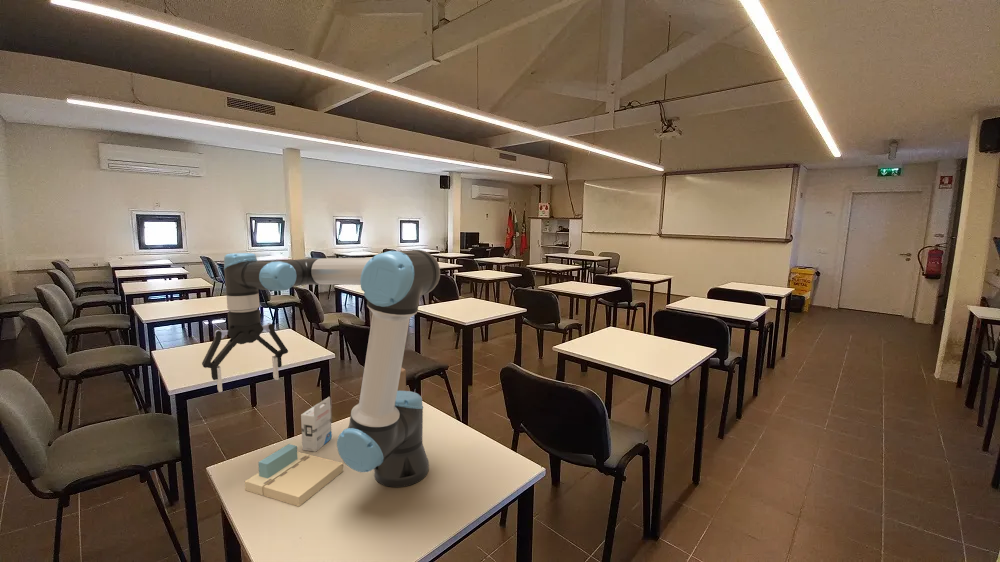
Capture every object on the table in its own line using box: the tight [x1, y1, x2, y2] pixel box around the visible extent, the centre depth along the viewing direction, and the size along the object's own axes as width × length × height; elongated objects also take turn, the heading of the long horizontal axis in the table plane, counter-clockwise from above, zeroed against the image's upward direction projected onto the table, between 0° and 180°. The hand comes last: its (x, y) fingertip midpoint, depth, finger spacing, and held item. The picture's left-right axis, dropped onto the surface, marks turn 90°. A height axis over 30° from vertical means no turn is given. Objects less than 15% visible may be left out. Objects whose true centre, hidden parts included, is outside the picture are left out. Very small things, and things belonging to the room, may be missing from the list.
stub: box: [244, 443, 311, 496], centre depth 113 cm, size 6×16×6 cm, turn 161°
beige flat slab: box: [263, 454, 344, 507], centre depth 111 cm, size 12×16×3 cm
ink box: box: [300, 396, 333, 452], centre depth 130 cm, size 9×5×15 cm, turn 168°
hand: (249, 384), depth 114 cm, fingers open, 13 cm apart
